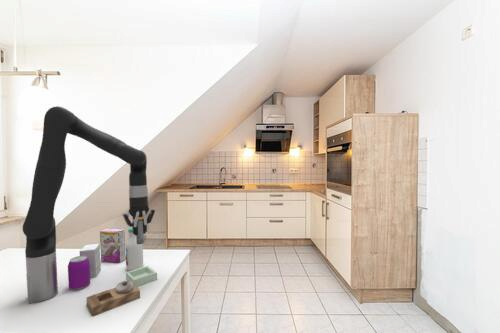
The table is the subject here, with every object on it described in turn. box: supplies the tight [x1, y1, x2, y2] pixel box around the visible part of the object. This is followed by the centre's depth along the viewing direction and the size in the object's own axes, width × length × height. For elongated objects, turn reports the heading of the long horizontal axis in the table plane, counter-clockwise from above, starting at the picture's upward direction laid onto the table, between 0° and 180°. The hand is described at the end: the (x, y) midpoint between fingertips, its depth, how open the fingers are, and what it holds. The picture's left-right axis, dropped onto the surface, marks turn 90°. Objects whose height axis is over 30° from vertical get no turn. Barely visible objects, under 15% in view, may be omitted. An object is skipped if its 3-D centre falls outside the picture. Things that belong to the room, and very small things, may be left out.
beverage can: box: [67, 255, 91, 291], centre depth 108 cm, size 8×8×12 cm
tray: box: [125, 265, 158, 288], centre depth 113 cm, size 10×10×3 cm
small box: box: [79, 243, 102, 279], centre depth 118 cm, size 8×6×13 cm
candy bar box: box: [99, 228, 126, 264], centre depth 133 cm, size 11×5×16 cm, turn 82°
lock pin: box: [136, 216, 145, 245], centre depth 112 cm, size 4×4×12 cm
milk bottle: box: [125, 227, 144, 272], centre depth 124 cm, size 8×8×20 cm
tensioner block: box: [86, 280, 141, 317], centre depth 96 cm, size 16×9×6 cm, turn 134°
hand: (139, 233), depth 112 cm, fingers closed on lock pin, 3 cm apart
